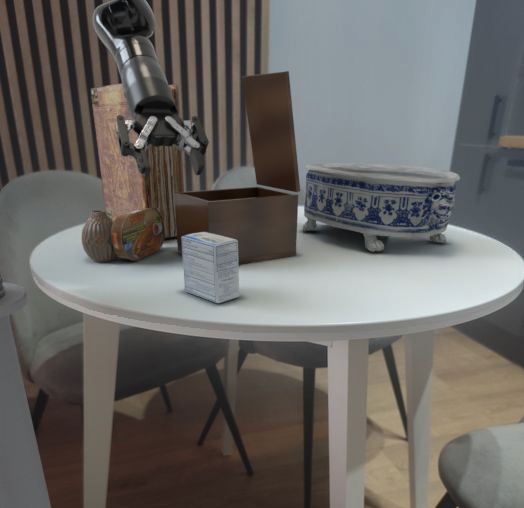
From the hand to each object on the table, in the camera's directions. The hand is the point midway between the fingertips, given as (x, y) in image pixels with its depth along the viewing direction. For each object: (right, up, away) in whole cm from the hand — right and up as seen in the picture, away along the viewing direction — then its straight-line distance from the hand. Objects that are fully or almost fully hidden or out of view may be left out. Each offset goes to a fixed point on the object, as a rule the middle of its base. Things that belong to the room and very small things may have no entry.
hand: (174, 172), depth 79 cm
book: (-14, 0, +38) cm, 40 cm away
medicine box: (+6, -20, -4) cm, 22 cm away
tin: (-9, -10, +17) cm, 22 cm away
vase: (-16, -11, +14) cm, 24 cm away
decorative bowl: (+38, -3, +34) cm, 51 cm away
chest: (+9, -9, +18) cm, 23 cm away
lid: (+15, +12, +13) cm, 23 cm away
